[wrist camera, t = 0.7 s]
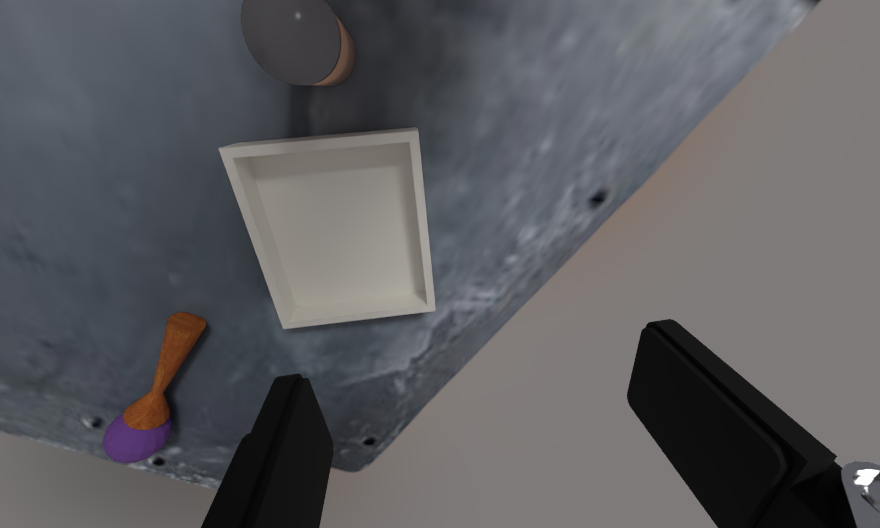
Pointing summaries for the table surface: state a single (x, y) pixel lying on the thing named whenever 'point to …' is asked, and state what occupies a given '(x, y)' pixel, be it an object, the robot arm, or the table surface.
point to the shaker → (298, 41)
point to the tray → (337, 223)
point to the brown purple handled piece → (153, 397)
